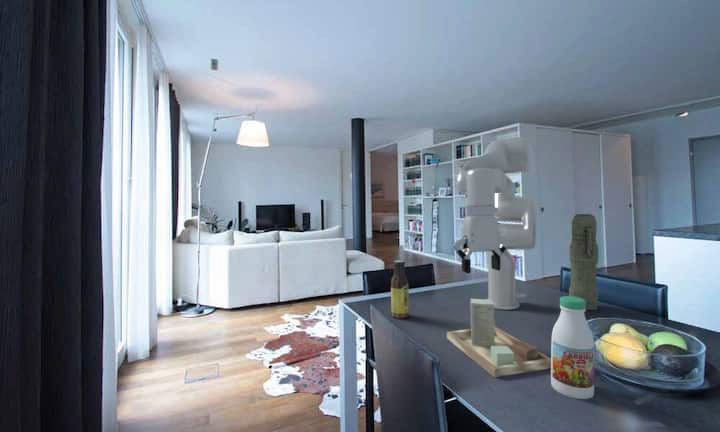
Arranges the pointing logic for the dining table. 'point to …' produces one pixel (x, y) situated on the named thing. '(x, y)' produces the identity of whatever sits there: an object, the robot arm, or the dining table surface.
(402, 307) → the sauce bottle
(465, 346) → the tray
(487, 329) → the skincare box
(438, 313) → the dining table surface
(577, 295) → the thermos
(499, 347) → the sage block
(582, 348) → the milk bottle
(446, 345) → the dining table surface
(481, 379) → the dining table surface
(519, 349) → the walnut block
